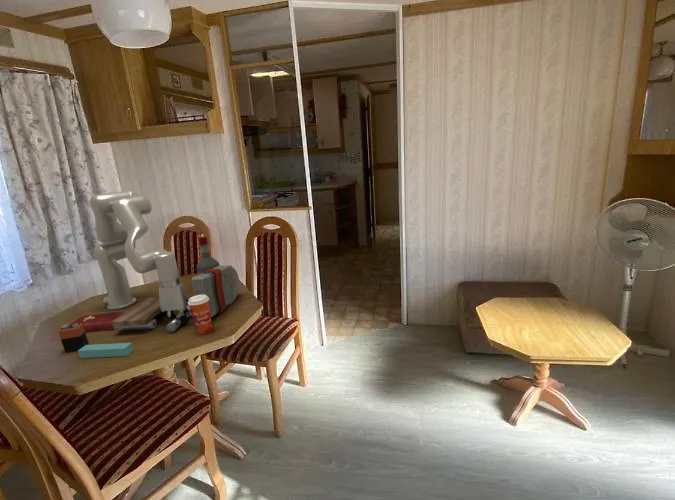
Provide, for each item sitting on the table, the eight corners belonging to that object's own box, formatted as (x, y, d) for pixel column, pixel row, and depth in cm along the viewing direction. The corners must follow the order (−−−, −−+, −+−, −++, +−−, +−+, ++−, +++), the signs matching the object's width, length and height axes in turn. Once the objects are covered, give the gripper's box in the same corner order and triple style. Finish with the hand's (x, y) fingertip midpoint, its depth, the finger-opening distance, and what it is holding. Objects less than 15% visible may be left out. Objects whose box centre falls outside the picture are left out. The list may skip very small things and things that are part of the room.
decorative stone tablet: (203, 276, 145) (238, 260, 174) (188, 277, 146) (226, 260, 175) (209, 322, 148) (243, 299, 177) (195, 322, 150) (231, 299, 178)
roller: (175, 333, 144) (173, 324, 143) (166, 333, 145) (164, 324, 144) (192, 316, 159) (191, 308, 158) (184, 316, 159) (182, 308, 158)
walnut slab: (112, 326, 146) (110, 322, 146) (146, 302, 169) (145, 298, 169) (145, 324, 145) (143, 320, 144) (175, 300, 168) (174, 296, 167)
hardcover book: (115, 331, 153) (113, 321, 151) (66, 334, 153) (64, 325, 152) (131, 318, 164) (129, 309, 163) (86, 321, 165) (83, 313, 164)
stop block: (80, 358, 132) (77, 350, 131) (88, 352, 136) (85, 345, 135) (126, 355, 130) (124, 348, 129) (133, 349, 134) (131, 342, 133)
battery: (70, 347, 141) (62, 324, 138) (89, 343, 142) (82, 320, 139) (64, 353, 137) (56, 329, 134) (84, 349, 138) (77, 325, 135)
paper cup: (195, 337, 139) (188, 303, 135) (193, 329, 145) (186, 297, 142) (216, 331, 142) (210, 298, 138) (213, 324, 149) (207, 292, 145)
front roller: (118, 332, 150) (116, 324, 149) (124, 327, 154) (122, 319, 153) (153, 330, 149) (150, 322, 148) (158, 326, 153) (156, 317, 152)
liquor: (218, 291, 186) (206, 234, 178) (227, 295, 179) (215, 236, 171) (201, 297, 179) (188, 238, 171) (209, 301, 173) (197, 240, 165)
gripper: (145, 287, 144) (156, 329, 149) (185, 284, 142) (195, 326, 147) (155, 280, 151) (165, 320, 156) (194, 277, 150) (202, 318, 154)
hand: (179, 323), depth 151 cm, fingers closed on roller, 3 cm apart
